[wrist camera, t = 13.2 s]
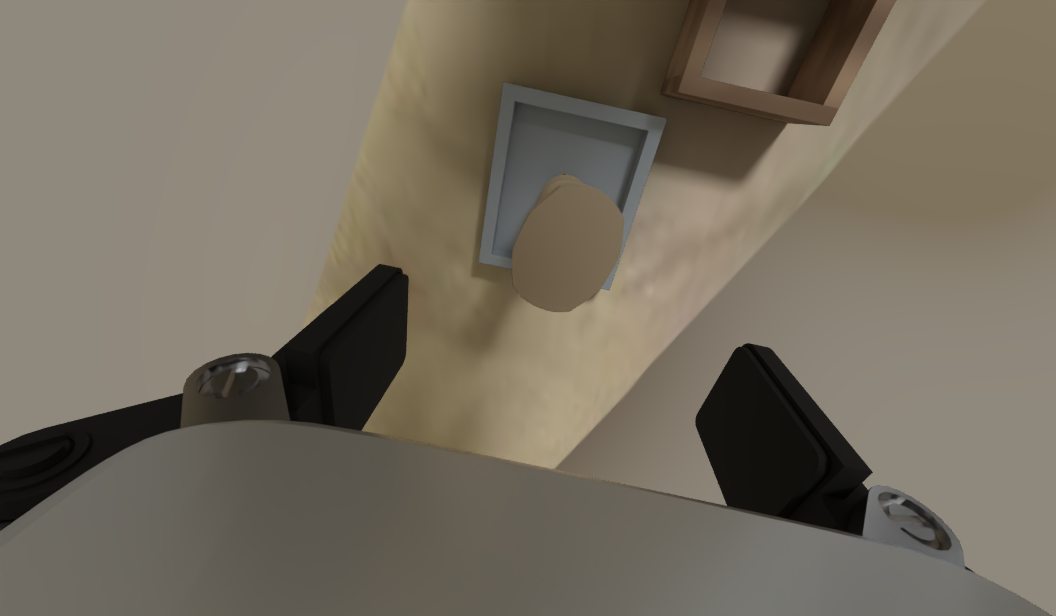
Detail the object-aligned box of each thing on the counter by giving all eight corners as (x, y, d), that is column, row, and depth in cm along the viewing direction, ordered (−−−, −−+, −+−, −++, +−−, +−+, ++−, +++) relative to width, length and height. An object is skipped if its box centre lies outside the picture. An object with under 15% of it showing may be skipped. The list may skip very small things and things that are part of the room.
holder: (725, -109, 23) (763, -161, 18) (882, -73, 23) (957, -115, 18) (660, 94, 28) (677, 92, 24) (788, 123, 28) (829, 126, 24)
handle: (608, 168, 30) (645, 216, 17) (571, 238, 33) (578, 325, 20) (554, 141, 29) (549, 168, 16) (521, 214, 32) (494, 288, 19)
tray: (508, 84, 29) (503, 82, 26) (659, 118, 29) (667, 118, 27) (483, 252, 35) (478, 262, 33) (606, 279, 35) (609, 290, 33)
